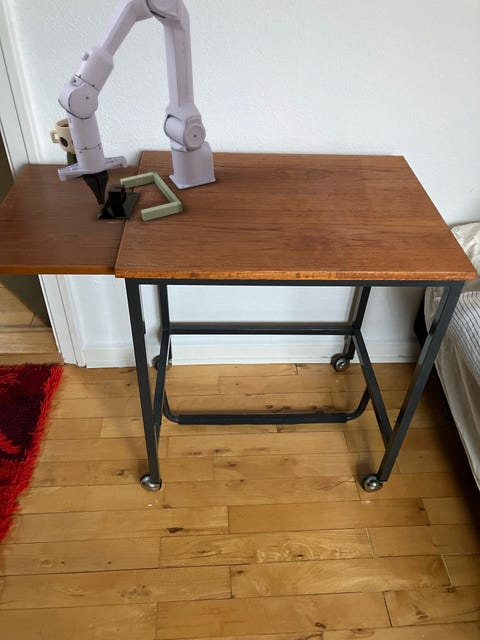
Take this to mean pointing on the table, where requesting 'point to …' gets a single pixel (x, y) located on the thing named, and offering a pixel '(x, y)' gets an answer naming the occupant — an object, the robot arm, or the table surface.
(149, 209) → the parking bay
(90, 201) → the table surface
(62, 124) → the character mug
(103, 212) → the build plate
